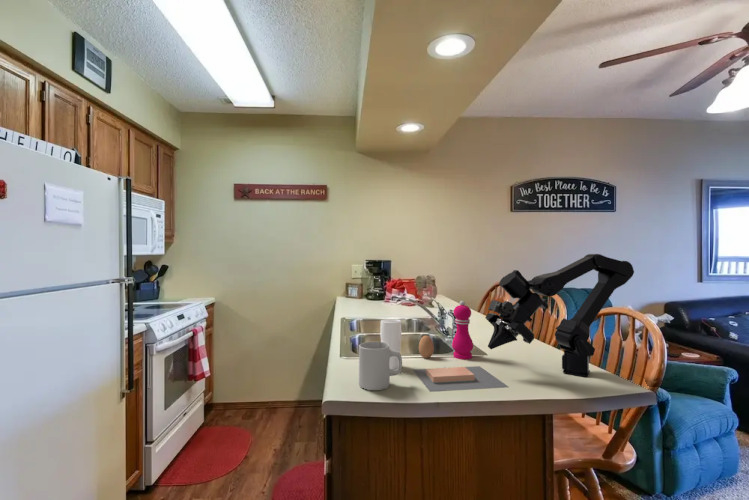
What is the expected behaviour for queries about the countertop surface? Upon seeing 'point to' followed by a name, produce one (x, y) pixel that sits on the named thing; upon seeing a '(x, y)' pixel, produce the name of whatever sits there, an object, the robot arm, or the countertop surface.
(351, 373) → the countertop surface
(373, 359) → the mug
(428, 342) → the egg
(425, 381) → the charcoal rubber mat
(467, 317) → the pepper mill
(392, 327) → the white cylinder
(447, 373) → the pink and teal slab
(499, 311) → the robot arm
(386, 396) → the countertop surface
